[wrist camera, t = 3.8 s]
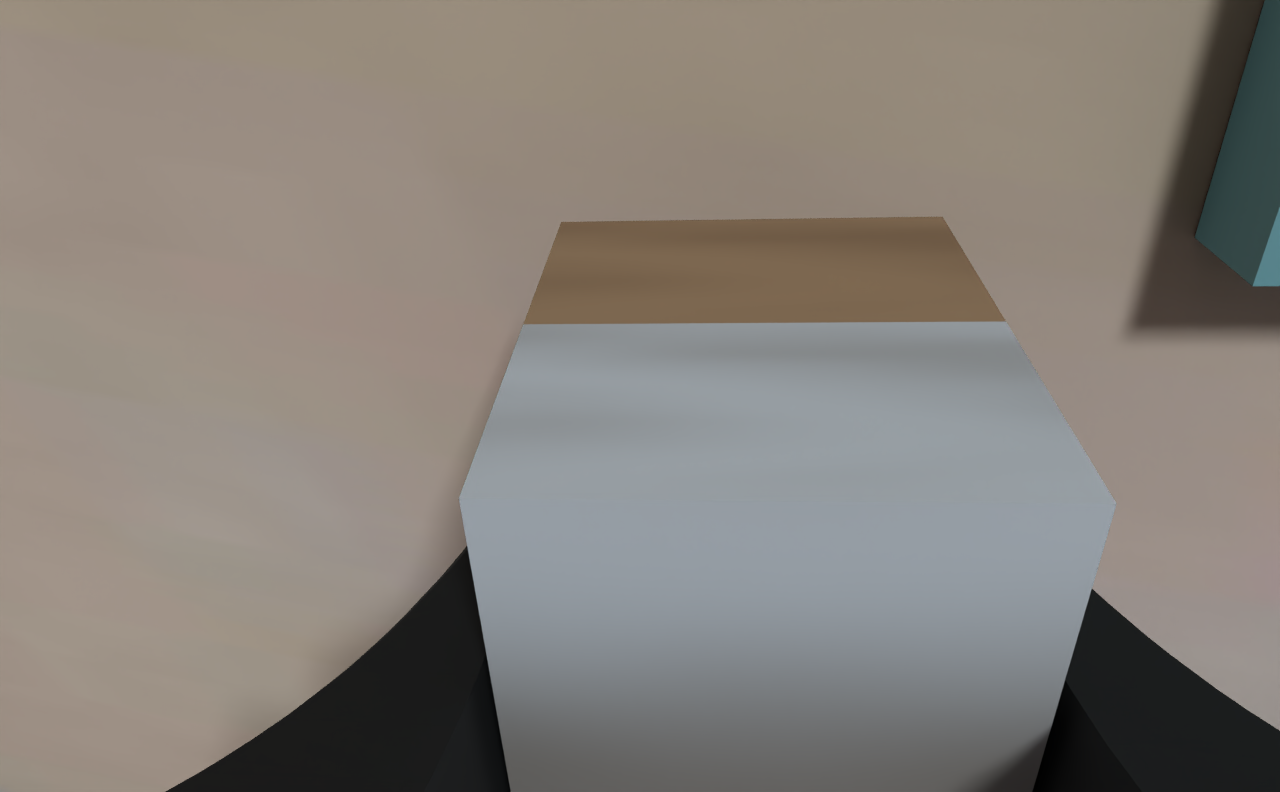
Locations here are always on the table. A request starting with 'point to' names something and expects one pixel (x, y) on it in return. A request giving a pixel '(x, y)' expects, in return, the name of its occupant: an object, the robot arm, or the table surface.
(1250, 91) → the teal stand
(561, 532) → the block
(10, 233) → the table surface
